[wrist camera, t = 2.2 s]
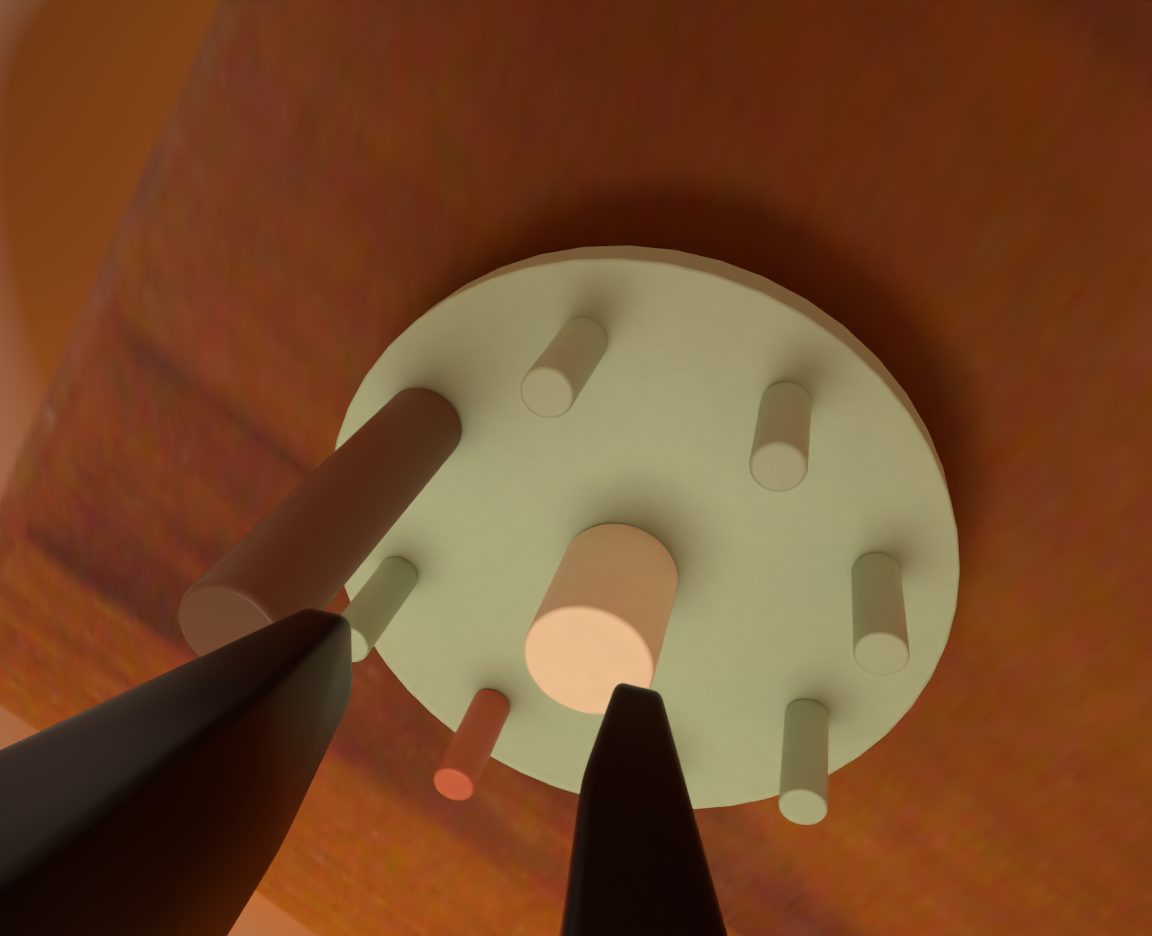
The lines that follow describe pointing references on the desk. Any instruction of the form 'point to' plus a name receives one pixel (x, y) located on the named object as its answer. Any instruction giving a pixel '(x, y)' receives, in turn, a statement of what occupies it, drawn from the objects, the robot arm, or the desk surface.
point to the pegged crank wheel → (624, 526)
